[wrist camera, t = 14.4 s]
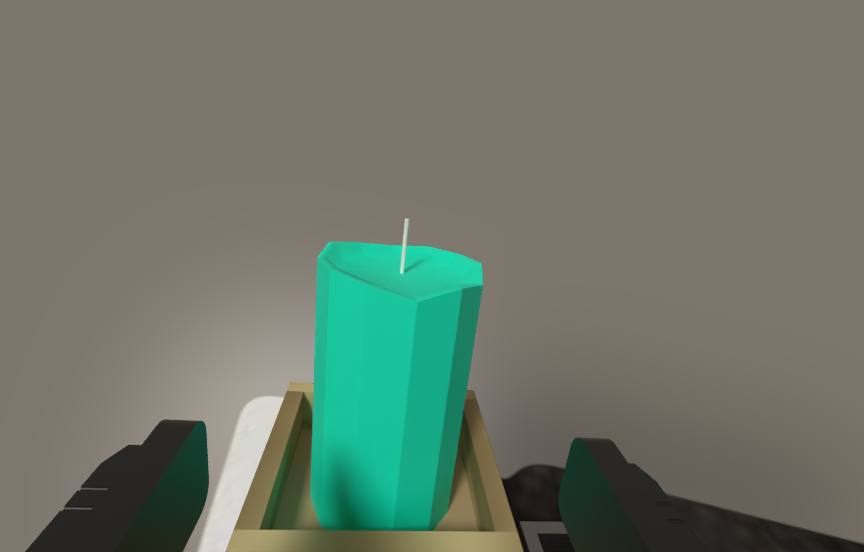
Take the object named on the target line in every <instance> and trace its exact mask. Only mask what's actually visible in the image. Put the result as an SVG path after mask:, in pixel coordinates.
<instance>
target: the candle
mask: <svg viewBox="0 0 864 552" xmlns="http://www.w3.org/2000/svg"><path fill="white" fill-rule="evenodd" d="M408 225H409V219H405V225H404V236H403V246H401V245H382V244H370V243H359V242H329V243H328V244H327V246H326V247H325V249H324V250H323V251H322V252H321V253H320V255H319V256H318V263H317V295H316V327H315V329H316V330H315V360H314V392H313V424H312V457H311V489H310V496H311V499H312V502H313V506H314V509H315V512H316V515H317V518H318V521H319V524H320V525H321V526H322V527H323V528H325V529H326V530H347V531H433V530H434V529H435V528H436V526H437V525H438V524H439V523H440V521H441V520H442V519H443V517H444V516H445V515H446V514H447V512H448V506H449V500H450V493H451V487H452V480H453V474H454V468H455V461H456V455H457V448H458V442H459V436H460V429H461V423H462V416H463V410H464V404H465V397H466V391H467V384H468V377H469V371H470V365H471V359H472V352H473V346H474V339H475V333H476V327H477V320H478V314H479V307H480V301H481V295H482V288H483V277H482V264H481V263H479V262H477V261H475V260H472V259H470V258H468V257H465V256H463V255H461V254H457V253H453V252H449V251H445V250H440V249H437V248H432V247H427V246H407V236H408Z"/></svg>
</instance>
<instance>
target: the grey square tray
mask: <svg viewBox="0 0 864 552" xmlns="http://www.w3.org/2000/svg"><path fill="white" fill-rule="evenodd" d="M517 532H518V535H519V539H520V542H521V545H522V548H523V552H575V550H574V547H573V545H572V543H571V540H570V538H569V536H568V533H567V531H566V529H565V526H564V524H563V522H534V521H520V522H519V526H518V531H517Z"/></svg>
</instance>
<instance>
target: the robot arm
mask: <svg viewBox="0 0 864 552" xmlns="http://www.w3.org/2000/svg"><path fill="white" fill-rule="evenodd" d="M206 436H207V435H206V426H205V423H204V422H203V421H187V420H186V421H185V420H162V421H161V422H160V423H159V424H158V425H157V426H156V427H155V429H154V430H153V431H152V432H151V434H150V435H149V436H148V438H147V439H146V440H145V441H144V443H143V444H142V445H128V446H126V447H125V448H123V449H122V450H120V451H119V452H117V453H116V454H114V455H113V456H111V457H110V458H108V459H107V460H105V461H104V462H102V463H101V464H100V465H99V466H98V467H97V469H96V470H95V471H94V472H93V473H92V474H91V476H90V477H89V478H88V479H87V480H86V481H85V483H84V484H83V485H82V486H81V490H80V491H77V492H76V493H75V494H74V495H73V497H72V498H71V499H70V500H69V501H68V503H67V504H66V505H65V507H64V510H63V511H60V512H59V513H58V514H57V515H56V516H55V518H54V519H53V520H52V521H51V522H50V523H49V525H48V526H47V527H46V528H45V529H44V530H43V532H42V533H41V534H40V535H39V536H38V537H37V539H36V540H35V541H34V542H33V543H32V544H31V546H30V547H29V548H28V549H27V550H26V551H25V552H183V550H184V548H185V546H186V544H187V542H188V540H189V538H190V536H191V534H192V532H193V530H194V528H195V526H196V523H197V522H198V520H199V517H200V515H201V513H202V511H203V508H204V505H205V502H206V498H207V492H208V485H209V474H208V454H207V437H206ZM559 509H560V514H561V518H562V521H563V524H564V526H565V529H566V531H567V533H568V536H569V538H570V540H571V543H572V545H573V547H574V550H575V552H708V551H707V550H706V548H705V547H704V546H703V544H702V543H701V542H700V540H699V539H698V537H697V536H696V535H695V533H694V532H693V531H692V529H691V528H690V527H689V525H688V524H685V523H684V519H683V517H682V516H681V514H680V513H679V512H678V510H677V509H676V508H675V506H672V505H671V501H670V500H669V498H668V497H667V495H666V494H665V493H664V491H663V490H662V489H661V487H660V486H659V485H658V483H657V482H656V481H655V480H654V479H652V478H651V477H650V476H649V475H648V474H647V473H645V472H644V471H643V470H642V469H640V468H639V467H638V466H637V465H635V464H630V463H628V462H627V461H626V460H625V458H624V457H623V455H622V454H621V452H620V451H619V449H618V448H617V447H616V445H615V444H614V443H613V441H611V440H610V439H598V438H575V439H574V440H573V442H572V444H571V447H570V451H569V456H568V459H567V463H566V467H565V471H564V475H563V479H562V483H561V487H560V491H559Z"/></svg>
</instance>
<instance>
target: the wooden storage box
mask: <svg viewBox="0 0 864 552" xmlns="http://www.w3.org/2000/svg"><path fill="white" fill-rule="evenodd" d="M313 392H314V383H298V382H290V385H289V387H288V390H287V392H286V395H285V397H284V400H283V403H282V405H281V408H280V411H279V413H278V416H277V418H276V421H275V424H274V426H273V429H272V431H271V434H270V437H269V439H268V442H267V445H266V447H265V450H264V452H263V455H262V458H261V460H260V463H259V465H258V468H257V471H256V473H255V476H254V479H253V481H252V484H251V486H250V489H249V492H248V494H247V497H246V499H245V502H244V505H243V507H242V510H241V512H240V515H239V518H238V520H237V523H236V526H235V528H234V531H233V533H232V536H231V539H230V541H229V544H228V546H227V549H226V552H523V548H522V545H521V542H520V539H519V535H518V532H517V529H516V526H515V522H514V519H513V516H512V513H511V510H510V506H509V503H508V500H507V497H506V493H505V490H504V487H503V484H502V480H501V477H500V474H499V471H498V468H497V464H496V461H495V458H494V455H493V452H492V448H491V445H490V442H489V438H488V435H487V432H486V429H485V426H484V422H483V419H482V416H481V413H480V409H479V406H478V403H477V400H476V397H475V393H474V391H471V390H467V391H466V397H465V404H464V410H463V416H462V423H461V429H460V436H459V442H458V448H457V455H456V461H455V468H454V474H453V480H452V487H451V493H450V500H449V506H448V512H447V514H446V515H445V516H444V517H443V519H442V520H441V521H440V523H439V524H438V525H437V526H436V528H435V529H434V530H433V531H347V530H326V529H325V528H323V527H322V526H321V525H320V524H319V521H318V518H317V515H316V512H315V509H314V506H313V502H312V499H311V496H310V489H311V457H312V424H313Z"/></svg>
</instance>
